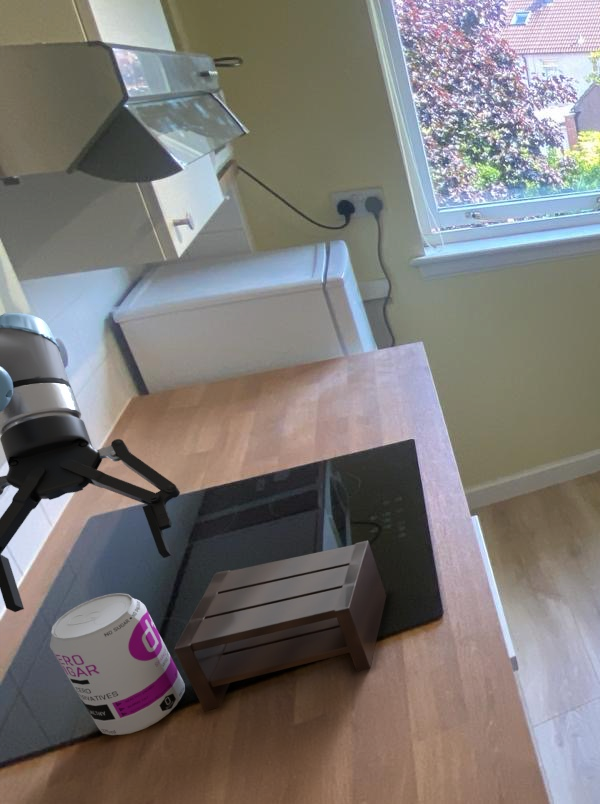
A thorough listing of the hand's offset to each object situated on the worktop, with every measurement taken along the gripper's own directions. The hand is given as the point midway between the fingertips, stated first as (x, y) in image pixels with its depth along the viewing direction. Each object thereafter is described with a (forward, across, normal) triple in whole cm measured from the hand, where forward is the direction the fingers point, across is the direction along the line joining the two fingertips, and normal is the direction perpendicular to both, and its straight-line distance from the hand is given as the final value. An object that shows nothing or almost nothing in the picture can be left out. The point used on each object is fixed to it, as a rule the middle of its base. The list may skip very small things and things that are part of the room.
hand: (93, 580), depth 88 cm
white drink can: (+16, 0, -5) cm, 17 cm away
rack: (+18, -16, -4) cm, 24 cm away
